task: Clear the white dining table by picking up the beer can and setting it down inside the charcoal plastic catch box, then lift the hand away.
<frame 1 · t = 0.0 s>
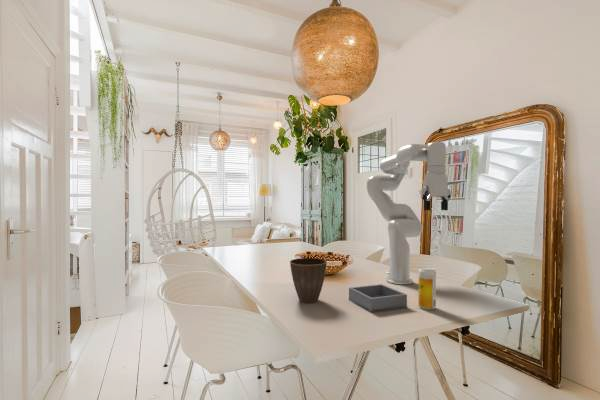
hand: (435, 210, 138), 37 cm above the table, tool pointing down, fingers open, 9 cm apart
plant pot: (308, 301, 129), on the table
catch box: (376, 303, 126), on the table
beer can: (427, 308, 121), on the table
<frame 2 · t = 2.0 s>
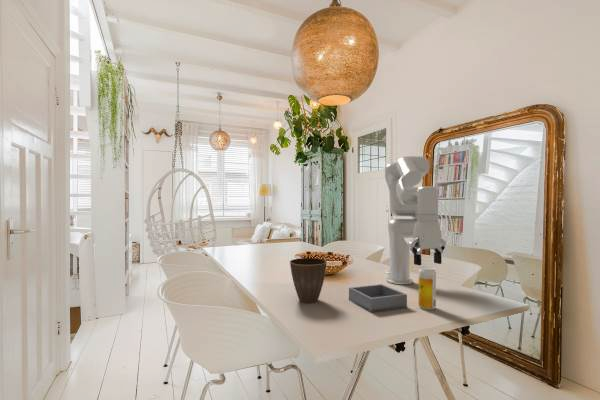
hand: (427, 264, 121), 17 cm above the table, tool pointing down, fingers open, 9 cm apart
nothing on the table moved.
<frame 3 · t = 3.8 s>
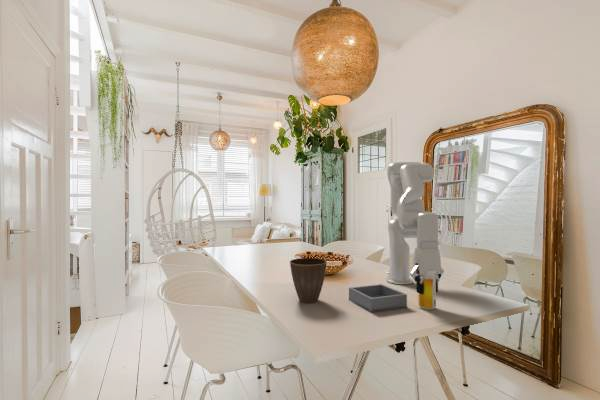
hand: (427, 291, 121), 6 cm above the table, tool pointing down, fingers closed on beer can, 6 cm apart
beer can: (427, 308, 121), on the table, touching gripper
everything else where it was.
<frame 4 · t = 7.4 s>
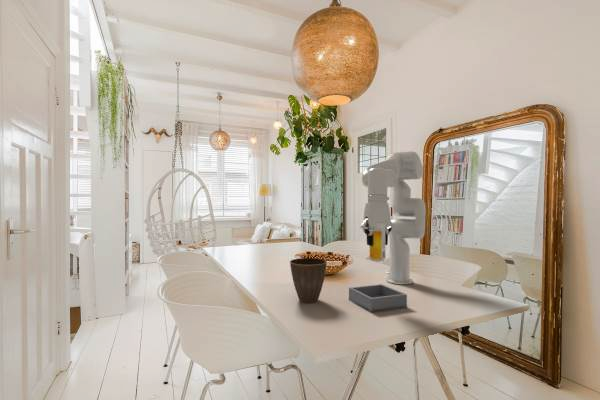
hand: (377, 244, 126), 23 cm above the table, tool pointing down, fingers closed on beer can, 6 cm apart
beer can: (377, 260, 126), point 17 cm above the table, touching gripper
everything else where it was.
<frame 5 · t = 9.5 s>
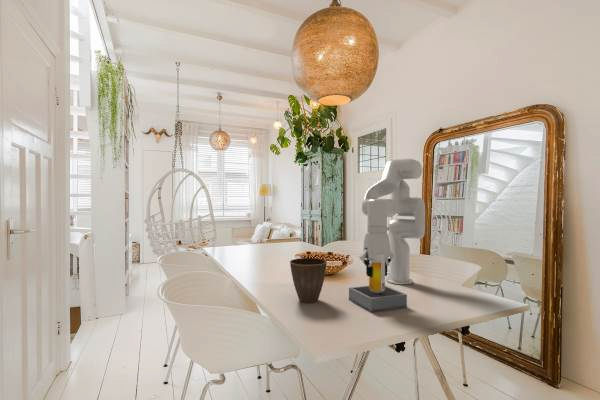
hand: (376, 275, 126), 11 cm above the table, tool pointing down, fingers closed on beer can, 6 cm apart
beer can: (376, 291, 126), point 5 cm above the table, touching gripper
everything else where it was.
when the fingers open (8 cm above the table, at t = 11.0 s): beer can drops 1 cm, resting on catch box.
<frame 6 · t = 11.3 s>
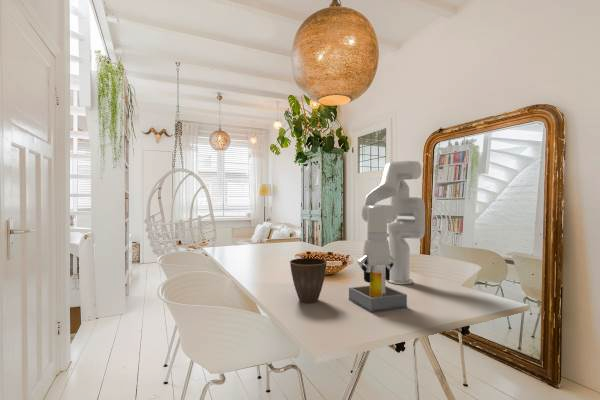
hand: (376, 280, 126), 9 cm above the table, tool pointing down, fingers open, 8 cm apart
beer can: (377, 301, 126), point 1 cm above the table, touching catch box
everything else where it was.
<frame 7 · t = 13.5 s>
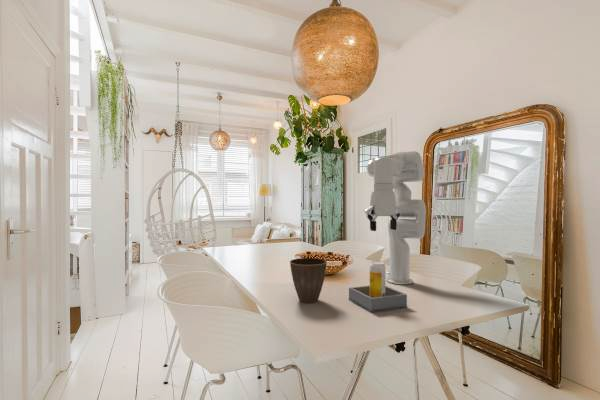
hand: (383, 230, 130), 29 cm above the table, tool pointing down, fingers open, 9 cm apart
nothing on the table moved.
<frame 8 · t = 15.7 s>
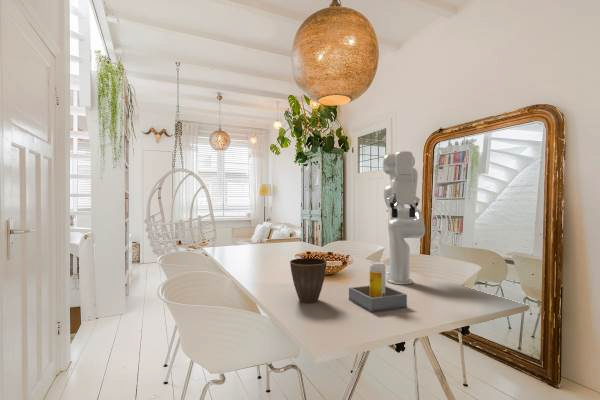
hand: (403, 217, 143), 33 cm above the table, tool pointing down, fingers open, 9 cm apart
nothing on the table moved.
at the end: beer can inside the target area on the catch box (0.3 cm from its centre), point 0.8 cm above the catch box's base; beer can tilted 0°; the gripper is holding nothing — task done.
